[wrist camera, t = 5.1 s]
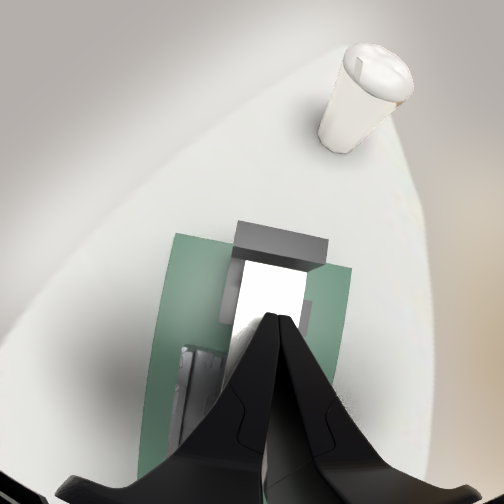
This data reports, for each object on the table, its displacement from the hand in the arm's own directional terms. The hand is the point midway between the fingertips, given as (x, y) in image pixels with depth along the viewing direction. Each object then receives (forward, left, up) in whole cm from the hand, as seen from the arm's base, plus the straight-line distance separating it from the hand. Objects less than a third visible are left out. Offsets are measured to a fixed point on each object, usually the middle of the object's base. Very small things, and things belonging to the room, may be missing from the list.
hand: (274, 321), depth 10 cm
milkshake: (+14, -4, -9) cm, 17 cm away
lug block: (+2, 0, -9) cm, 9 cm away
